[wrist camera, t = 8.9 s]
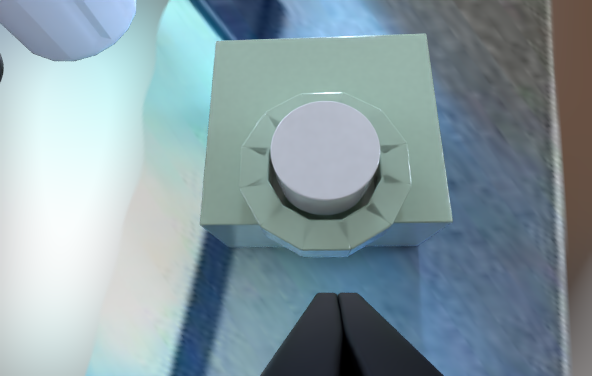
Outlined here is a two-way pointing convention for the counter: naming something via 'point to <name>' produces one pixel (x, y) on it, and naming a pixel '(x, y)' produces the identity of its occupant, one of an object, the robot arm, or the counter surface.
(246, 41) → the push button box
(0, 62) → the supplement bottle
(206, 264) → the counter surface
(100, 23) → the soap bottle
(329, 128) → the flush button
